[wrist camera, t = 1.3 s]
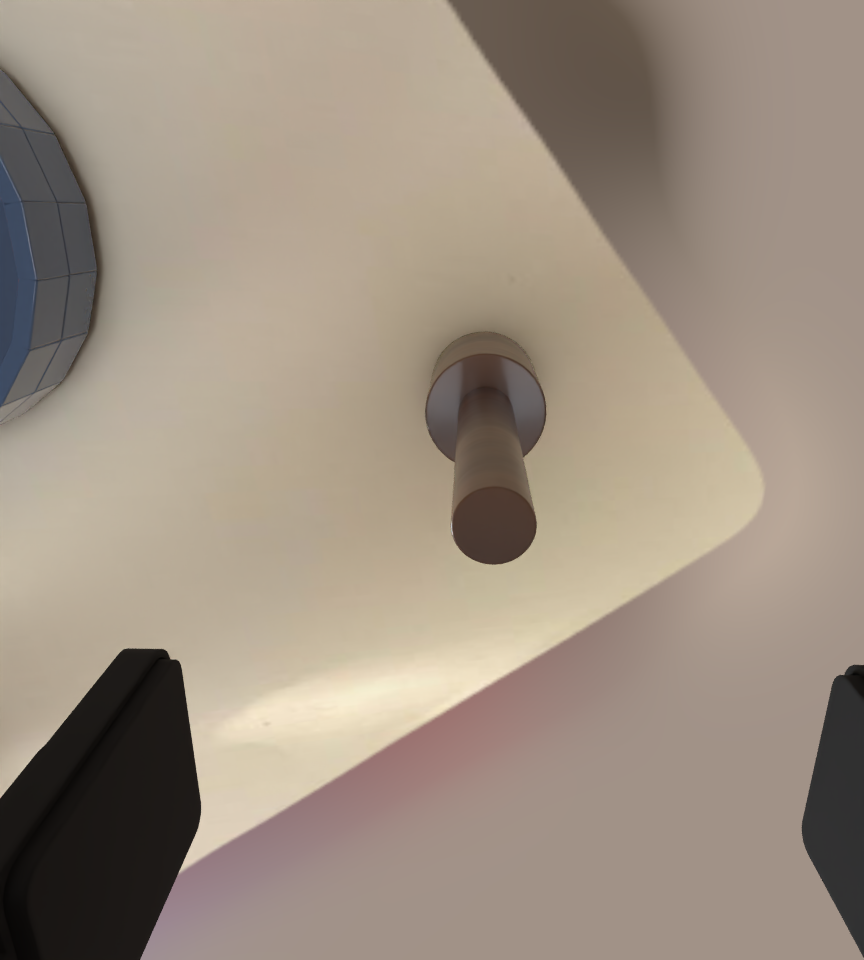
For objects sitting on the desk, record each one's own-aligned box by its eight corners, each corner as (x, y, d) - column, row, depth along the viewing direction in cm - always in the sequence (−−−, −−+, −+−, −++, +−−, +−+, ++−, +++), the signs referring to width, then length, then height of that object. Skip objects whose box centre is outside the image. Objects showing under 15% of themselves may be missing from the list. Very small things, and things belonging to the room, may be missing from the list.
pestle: (431, 331, 30) (397, 435, 16) (537, 331, 30) (596, 437, 16) (432, 432, 32) (401, 607, 18) (532, 433, 31) (582, 611, 17)
